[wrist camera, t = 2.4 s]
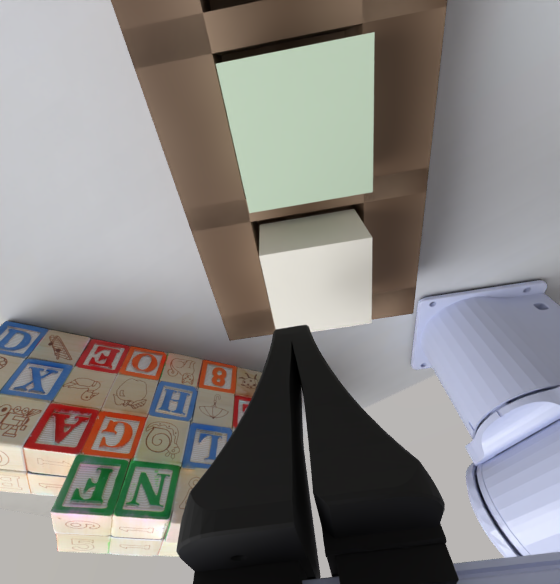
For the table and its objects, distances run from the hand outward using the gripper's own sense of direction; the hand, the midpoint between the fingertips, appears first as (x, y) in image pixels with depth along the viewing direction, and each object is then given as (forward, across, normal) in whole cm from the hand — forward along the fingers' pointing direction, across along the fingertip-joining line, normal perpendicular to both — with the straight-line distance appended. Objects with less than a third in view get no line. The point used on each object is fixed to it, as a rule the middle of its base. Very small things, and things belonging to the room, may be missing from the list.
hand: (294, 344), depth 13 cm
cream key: (+7, -2, 0) cm, 7 cm away
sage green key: (+7, -2, -7) cm, 10 cm away
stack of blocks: (+11, +14, +11) cm, 21 cm away
